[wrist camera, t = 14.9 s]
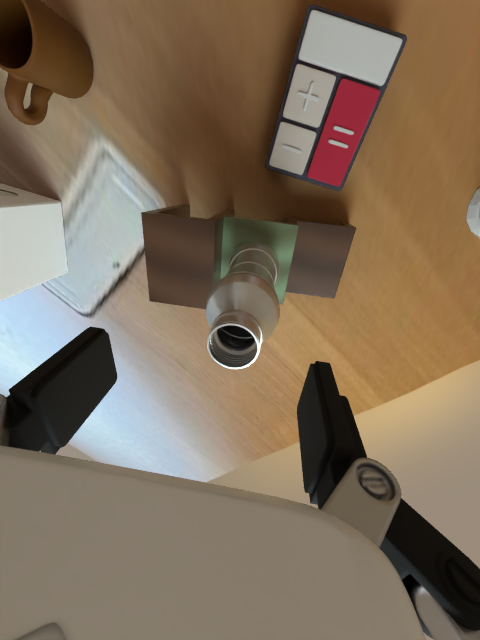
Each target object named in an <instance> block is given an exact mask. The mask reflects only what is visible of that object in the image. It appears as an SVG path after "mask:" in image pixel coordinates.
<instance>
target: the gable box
mask: <svg viewBox="0 0 480 640" xmlns="http://www.w3.org/2000/svg"><path fill="white" fill-rule="evenodd" d="M66 273H68V267H67V257H66V247H65V237H64V227H63V217H62V207H61V202H60V201H58V200H54V199H51V198H48V197H44V196H41V195H38V194H35V193H31V192H28V191H25V190H21V189H18V188H15V187H12V186H8V185H5V184H2V183H0V301H2V300H4V299H7V298H9V297H11V296H14V295H16V294H18V293H21V292H23V291H26V290H28V289H30V288H33V287H35V286H37V285H40V284H42V283H45V282H47V281H49V280H52V279H54V278H56V277H59V276H61V275H64V274H66Z"/></svg>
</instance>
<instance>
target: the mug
mask: <svg viewBox="0 0 480 640" xmlns="http://www.w3.org/2000/svg"><path fill="white" fill-rule="evenodd" d="M0 68H2V69H3V70H5V71H7V72H8V78H7V82H6V86H5V98H6V102H7V105H8V108H9V110H10V111H11V112H12V114H13V115H14V117H16V118H17V119H18V120H19V121H21V122H22V123H25V124H27V125H36V124H39V123H41V122H42V121H43V120H44V118H45V116H46V113H47V108H48V101H49V99H50V97H51V95H52V94H53V93H54V92H55V93H57V94H60V95H62V96H65V97H68V98H79V97H82V96H83V95H85V94H86V93H87V91H88V90H89V88H90V87H91V84H92V80H93V64H92V59H91V55H90V52H89V50H88V47H87V45H86V43H85V42H84V40H83V38H82V37H81V35H80V34H79V33H78V32H77V31H76V29H74V28H73V27H72V26H71V25H70V24H69V23H68V22H67V21H65V20H64V19H63V18H61V17H60V16H59V15H58V14H57V13H55V12H54V11H53V10H52V9H50V8H49V7H48V6H47V5H45V4H44V3H43V2H41V1H40V0H0ZM29 82H30V83H33V86H32V89H31V102H30V106H29V107H28V108H27V109H24V106H23V100H24V96H25V92H26V88H27V85H28V83H29Z"/></svg>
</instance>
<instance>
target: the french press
mask: <svg viewBox="0 0 480 640" xmlns="http://www.w3.org/2000/svg"><path fill="white" fill-rule="evenodd" d="M466 220H467V222H468V225H469V228H470V231H472V232H473V233H474V234H476V235H477V236H478V237H480V187H479V188H478V189H477V190H476V192H475V194H474V196H473V198H472V200H471V201H470V203H469V205H468V212H467V219H466Z"/></svg>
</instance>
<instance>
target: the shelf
mask: <svg viewBox="0 0 480 640" xmlns="http://www.w3.org/2000/svg"><path fill="white" fill-rule="evenodd" d="M141 214H142V225H143V235H144V246H145V256H146V267H147V277H148V288H149V298H150V301H152V302H159V303H166V304H173V305H180V306H187V307H194V308H201V309H206V304H207V299H208V296H209V294H210V292H211V290H212V289H213V288H214V286H215V285H216V284H217V283H218V282H219V281H220V280H221V279H222V278H223V277H225V276H226V275H227V274H228V272H229V270H228V269H229V262H230V259H231V256H232V254H233V253H234V251H235V250H236V249H237V248H238V247H240V246H241V245H243V244H245V243H247V242H252V241H258V242H262V243H265V244H267V245H268V246H269V247H270V248H271V249H272V250H273V251H274V252H275V254H276V256H277V258H278V261H279V274H278V277H277V280H276V282H275V284H274V289H275V292H276V294H277V297H278V301H279V304H283V301H284V296H285V292H290V293H298V294H305V295H312V296H319V297H327V298H335V294H336V291H337V288H338V285H339V282H340V278H341V275H342V272H343V269H344V266H345V262H346V259H347V256H348V253H349V250H350V246H351V243H352V240H353V237H354V234H355V230H356V227H354V226H352V225H350V224H347V223H341V225H338V224H330V223H321V222H313V221H304V220H296V219H295V218H294V217H288V216H287V217H286V222H276V221H268V220H259V219H251V218H243V217H234V210H228V209H227V210H225V211H223V212H221V213H219V214H217V215H215V216H213V217H211V218H209V219H204V218H195V217H190V206H189V205H185V204H181V205H177V206H172V207H167V208H162V209H157V210H152V211H147V212H142V213H141Z"/></svg>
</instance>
